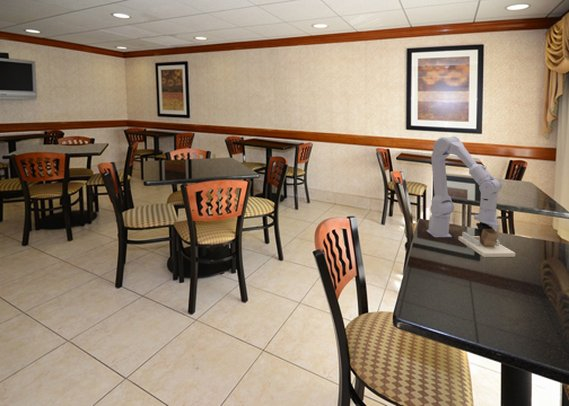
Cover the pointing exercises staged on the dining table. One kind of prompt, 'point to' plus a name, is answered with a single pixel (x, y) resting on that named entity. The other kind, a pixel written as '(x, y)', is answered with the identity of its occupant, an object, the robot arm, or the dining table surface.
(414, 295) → the dining table surface
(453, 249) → the dining table surface
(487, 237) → the walnut block
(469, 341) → the dining table surface
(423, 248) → the dining table surface
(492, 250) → the channel
